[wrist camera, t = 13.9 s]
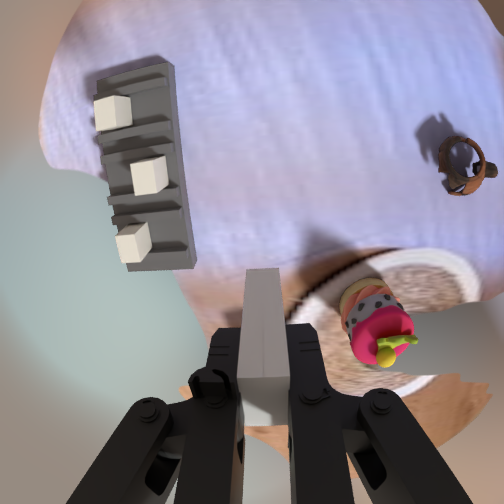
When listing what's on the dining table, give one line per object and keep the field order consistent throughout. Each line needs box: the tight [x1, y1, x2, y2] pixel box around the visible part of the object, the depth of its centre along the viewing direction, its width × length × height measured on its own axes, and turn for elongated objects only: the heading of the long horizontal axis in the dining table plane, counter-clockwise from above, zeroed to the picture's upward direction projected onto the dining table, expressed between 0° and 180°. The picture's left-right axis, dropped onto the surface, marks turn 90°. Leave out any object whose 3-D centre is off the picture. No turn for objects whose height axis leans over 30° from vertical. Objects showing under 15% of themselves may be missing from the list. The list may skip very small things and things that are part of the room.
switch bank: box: [94, 62, 197, 272], centre depth 38 cm, size 30×11×4 cm, turn 4°
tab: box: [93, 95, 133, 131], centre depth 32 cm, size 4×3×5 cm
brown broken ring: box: [438, 136, 498, 196], centre depth 36 cm, size 12×10×8 cm
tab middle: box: [130, 156, 169, 196], centre depth 35 cm, size 4×3×5 cm
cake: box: [339, 278, 418, 367], centre depth 42 cm, size 10×10×15 cm
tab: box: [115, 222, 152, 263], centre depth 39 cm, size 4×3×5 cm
